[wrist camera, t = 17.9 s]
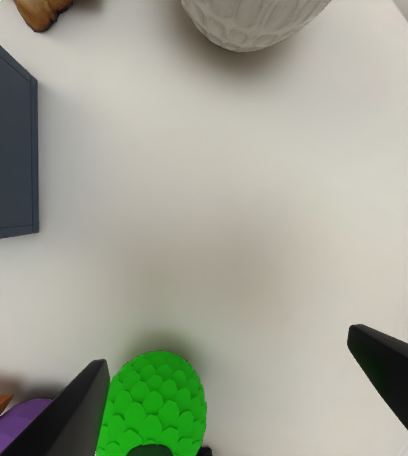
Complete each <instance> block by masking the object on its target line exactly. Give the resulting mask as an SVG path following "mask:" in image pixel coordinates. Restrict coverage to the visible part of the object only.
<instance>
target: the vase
mask: <svg viewBox="0 0 408 456" xmlns="http://www.w3.org/2000/svg"><path fill="white" fill-rule="evenodd" d="M330 1H331V0H180V2H181V4H182V5H183V7H184V9H185V11H186V12H187V14H188V16H189V17H190V19H191V20H192V21H193V23H194V24H195V26H196V27H197V28H198V29H199V31H200V32H201V33H202V34H203V35H204V36H205V37H206V38H208V39H209V40H210V41H212V42H213V43H214V44H216V45H218V46H220V47H222V48H225V49H228V50H231V51H236V52H251V51H257V50H260V49H264V48H267V47H270V46H272V45H275V44H277V43H279V42H281V41H283V40H285V39H287V38H288V37H290V36H292V35H293V34H295V33H297V32H298V31H299V30H300V29H302V28H303V27H304V26H305V25H306V24H307V23H309V22H310V21H311V20H312V19H313V18H314V17H316V16H317V15H318V14H319V13H320V12H321V11H322V10H323V9H324V8H325V7H326V6H327V5H328V3H329V2H330Z"/></svg>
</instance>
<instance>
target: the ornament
mask: <svg viewBox="0 0 408 456" xmlns="http://www.w3.org/2000/svg"><path fill="white" fill-rule="evenodd" d="M206 411H207V403H206V402H204V389H203V385H200V379H199V377H198V375H197V373H196V372H195V370H194V369H193V368H192V366H191V365H190V364H189V363H188V361H184V359H183V358H182V357H180V356H178V355H175V354H173V353H172V352H163V351H155V352H148V353H145V354H143V355H142V356H137V357H136V358H134V359H133V360H132V361H131V362H127V363H126V364H125V365H124V366H123V367H122V369H121V370H120V371H119V373H118V374H117V375H115V376H114V377H113V378H112V380H111V382H110V386H109V391H108V396H107V401H106V406H105V411H104V415H103V420H102V425H101V430H100V435H99V439H98V444H97V447H96V452H97V454H96V455H97V456H196V454H197V452H198V450H199V448H200V446H201V444H202V441H203V440H202V438H203V435H204V432H205V429H206Z"/></svg>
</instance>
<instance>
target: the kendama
mask: <svg viewBox="0 0 408 456" xmlns="http://www.w3.org/2000/svg"><path fill="white" fill-rule="evenodd" d="M12 397H13V395H0V415H1V413H2V412H3V411H4V409H5V408H6V406H7V405H8V404H9V402H10V401H11V399H12ZM52 401H53V400H51V399H31V400H29V401H26V402H23V403H21V404H18V405H15V406H14V407H12V408H11V409H10V410H8V411H7V412H6V413H4V414H3V415H1V416H0V453H1V452H2V451H3V450H4V449H5V448H6V447H7V446H8V445H9V444H10V443H11V442H12V441H13V440H14V439H15V438H16V437H17V436H18V435H19V434H20V433H21V432H22V431H23V430H24V429H25V428H26V427H27V426H28V425H29V424H30V423H31V422H32V421H33V420H34V419H35V418H36V417H37V416H38V415H39V414H40V413H41V412H42V411H43V410H44V409H45V408H46V407H47V406H48V405H49V404H50V403H51V402H52Z"/></svg>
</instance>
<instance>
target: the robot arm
mask: <svg viewBox="0 0 408 456" xmlns="http://www.w3.org/2000/svg"><path fill="white" fill-rule="evenodd" d="M347 346H348V348H349V350H350V352H351V353H352V355H353V356H354V358H355V359H356V361H357V362H358V364H359V365H360V367H361V368H362V370H363V371H364V372H365V374H366V375H367V377H368V378H369V380H370V381H371V383H372V384H373V386H374V387H375V389H376V390H377V391H378V393H379V394H380V395H381V397H382V398H383V399H384V401H385V402H386V403H387V405H388V406H389V407H390V408H391V410H392V411H393V412H394V413H395V415H396V416H397V417H398V419H399V420H400V421H401V422H402V424H403V425H404V426H405V427H406V429H407V430H408V343H405V342H403V341H401V340H398V339H396V338H394V337H391V336H389V335H387V334H384V333H382V332H379V331H377V330H375V329H372V328H370V327H368V326H365V325H363V324H356V325H351V326H350V327H349V332H348V339H347ZM109 386H110V376H109V370H108V365H107V361H106V360H105V359H100V360H94V361H92V362H91V363H90V364H89V365H88V366H87V367H86V368H85V369H84V370H83V371H82V372H81V373H80V374H79V375H78V376H77V377H76V378H75V379H74V380H73V381H72V382H71V383H70V384H69V385H68V386H67V387H66V388H65V389H64V390H63V391H62V392H61V393H60V394H59V395H58V396H57V397H56V398H55V399H54V400H53V401H52V402H51V403H50V404H49V405H48V406H47V407H46V408H45V409H44V410H43V411H42V412H41V413H40V414H39V415H38V416H37V417H36V418H35V419H34V420H33V421H32V422H31V423H30V424H29V425H28V426H27V427H26V428H25V429H24V430H23V431H22V432H21V433H20V434H19V435H18V436H17V437H16V438H15V439H14V440H13V441H12V442H11V443H10V444H9V445H8V446H7V447H6V448H5V449H4V450H3V451H2V452H1V453H0V456H94V455H95V451H96V447H97V444H98V439H99V435H100V430H101V425H102V420H103V415H104V411H105V406H106V401H107V396H108V391H109ZM196 456H212V450H211V449H210V448H201V449H199V450H198V452H197V454H196Z"/></svg>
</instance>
